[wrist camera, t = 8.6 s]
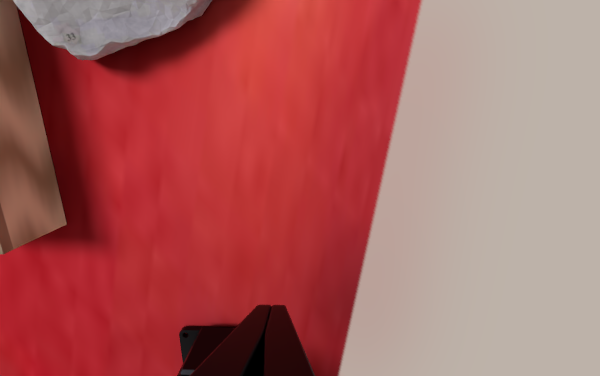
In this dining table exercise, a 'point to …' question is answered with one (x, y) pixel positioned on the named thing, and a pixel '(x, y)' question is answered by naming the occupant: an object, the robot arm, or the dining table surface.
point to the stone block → (106, 22)
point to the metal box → (23, 146)
